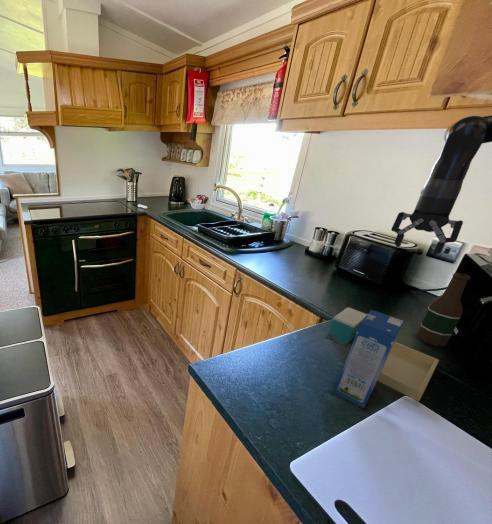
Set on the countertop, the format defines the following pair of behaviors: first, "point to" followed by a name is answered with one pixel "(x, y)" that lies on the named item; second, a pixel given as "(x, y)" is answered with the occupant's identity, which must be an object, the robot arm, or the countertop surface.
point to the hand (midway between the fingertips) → (415, 250)
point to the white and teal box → (346, 324)
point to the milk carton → (367, 356)
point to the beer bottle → (443, 313)
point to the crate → (407, 371)
